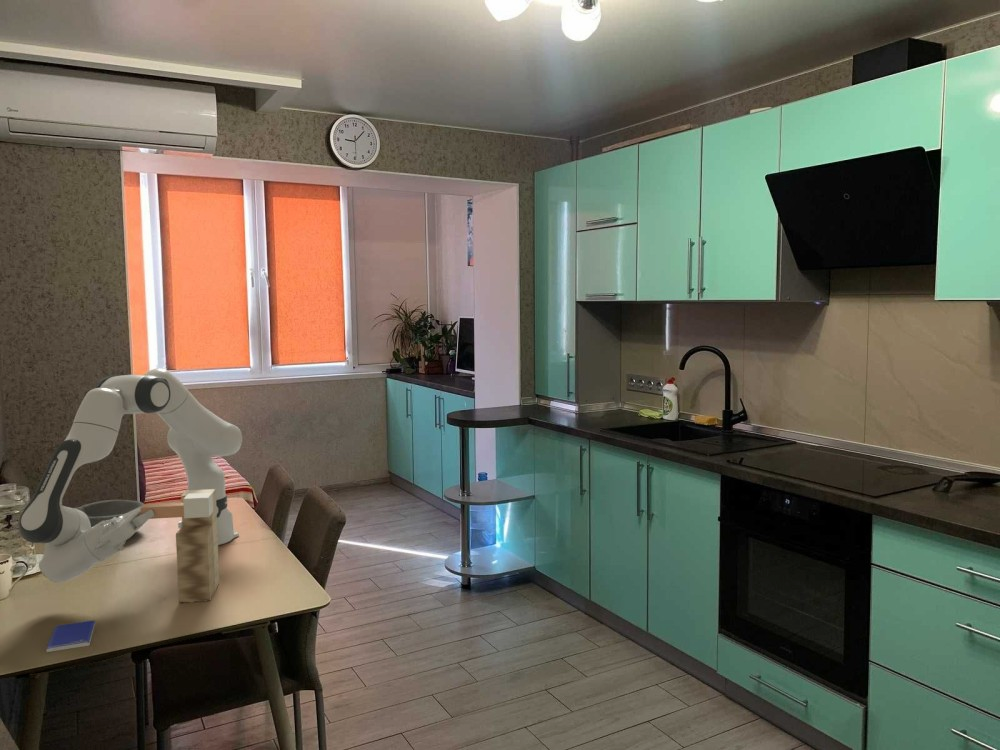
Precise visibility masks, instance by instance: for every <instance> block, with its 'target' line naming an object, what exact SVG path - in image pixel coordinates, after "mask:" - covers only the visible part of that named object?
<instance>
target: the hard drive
mask: <svg viewBox="0 0 1000 750" xmlns="http://www.w3.org/2000/svg"><path fill="white" fill-rule="evenodd" d="M95 626H96V621H95V620H87V621H80V622H75V623H68V624H67V623H65V624H60V625H56V626H55V627H54V628H53V629H54V630H53V632H52V635H51V636H50V639H49V642H48V645H47V647H46V653H49V652H58V651H64V650H68V649H75V648H80V647H81V648H82V647H88V646H90V644H91V641H92V637H93V633H94V629H95Z"/></svg>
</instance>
